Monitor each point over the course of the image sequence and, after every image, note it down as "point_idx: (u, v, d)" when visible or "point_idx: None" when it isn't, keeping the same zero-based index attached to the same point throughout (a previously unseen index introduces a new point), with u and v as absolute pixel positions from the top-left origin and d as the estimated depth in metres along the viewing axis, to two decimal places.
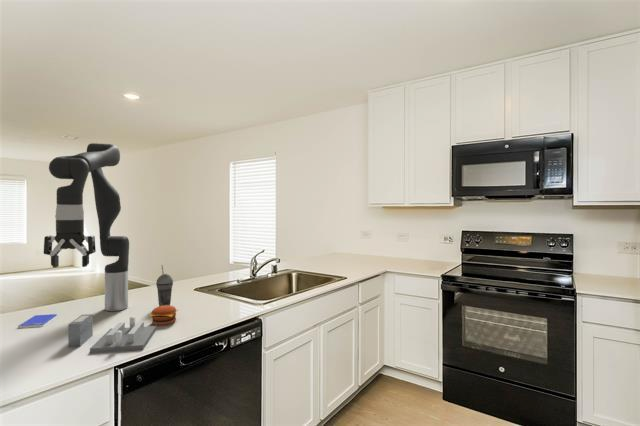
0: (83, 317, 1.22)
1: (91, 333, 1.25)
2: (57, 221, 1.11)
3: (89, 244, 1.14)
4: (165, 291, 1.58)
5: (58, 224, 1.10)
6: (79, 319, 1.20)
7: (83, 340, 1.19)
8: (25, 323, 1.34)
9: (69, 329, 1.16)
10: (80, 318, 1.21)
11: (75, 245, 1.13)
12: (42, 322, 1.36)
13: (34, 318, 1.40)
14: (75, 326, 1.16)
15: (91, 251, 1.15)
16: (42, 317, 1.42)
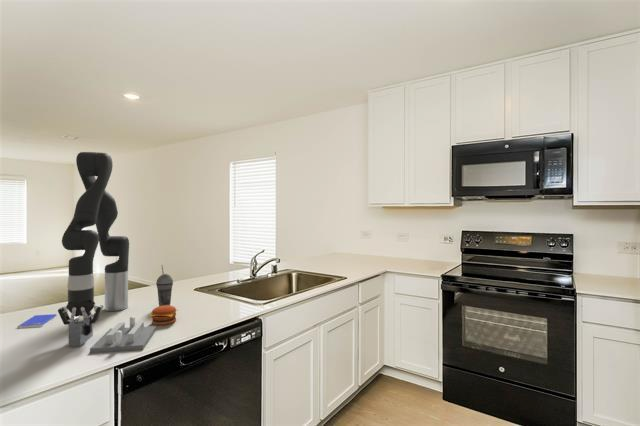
0: None
1: (91, 333, 1.25)
2: (69, 291, 1.17)
3: (95, 314, 1.21)
4: (165, 291, 1.58)
5: (70, 294, 1.17)
6: (79, 319, 1.20)
7: (83, 340, 1.19)
8: (25, 323, 1.34)
9: (70, 328, 1.16)
10: (80, 318, 1.21)
11: (86, 312, 1.20)
12: (42, 322, 1.36)
13: (33, 318, 1.40)
14: (76, 325, 1.16)
15: (94, 320, 1.21)
16: (42, 317, 1.42)
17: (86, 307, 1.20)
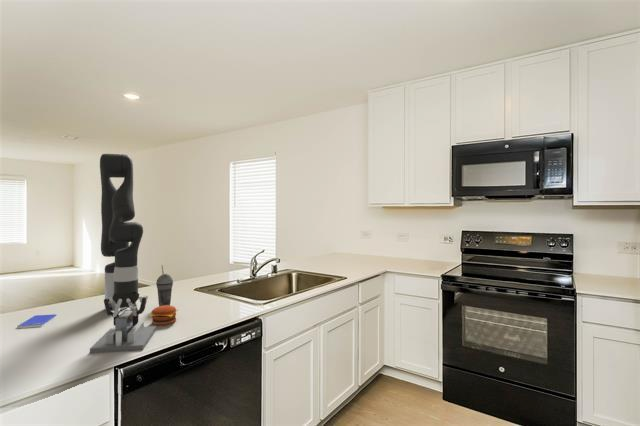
0: (128, 312, 1.24)
1: None
2: (116, 283, 1.19)
3: (141, 305, 1.22)
4: (165, 291, 1.58)
5: (116, 285, 1.18)
6: (124, 314, 1.22)
7: None
8: (24, 323, 1.34)
9: (116, 323, 1.17)
10: (125, 313, 1.23)
11: (131, 304, 1.21)
12: (41, 322, 1.36)
13: (33, 318, 1.40)
14: (122, 320, 1.18)
15: (141, 311, 1.22)
16: (42, 317, 1.42)
17: (131, 298, 1.21)
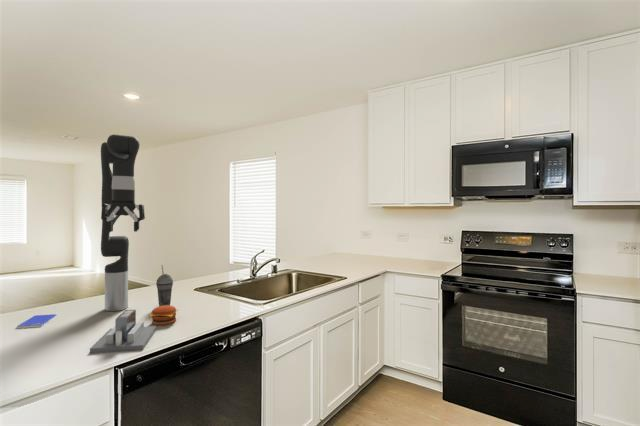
0: (128, 312, 1.24)
1: None
2: (113, 190, 1.26)
3: (140, 211, 1.30)
4: (165, 291, 1.58)
5: (114, 193, 1.26)
6: (124, 314, 1.22)
7: None
8: (24, 323, 1.34)
9: (116, 323, 1.17)
10: (125, 313, 1.23)
11: (128, 212, 1.29)
12: (41, 322, 1.36)
13: (33, 318, 1.40)
14: (122, 320, 1.18)
15: (141, 217, 1.30)
16: (41, 317, 1.42)
17: (128, 207, 1.29)
